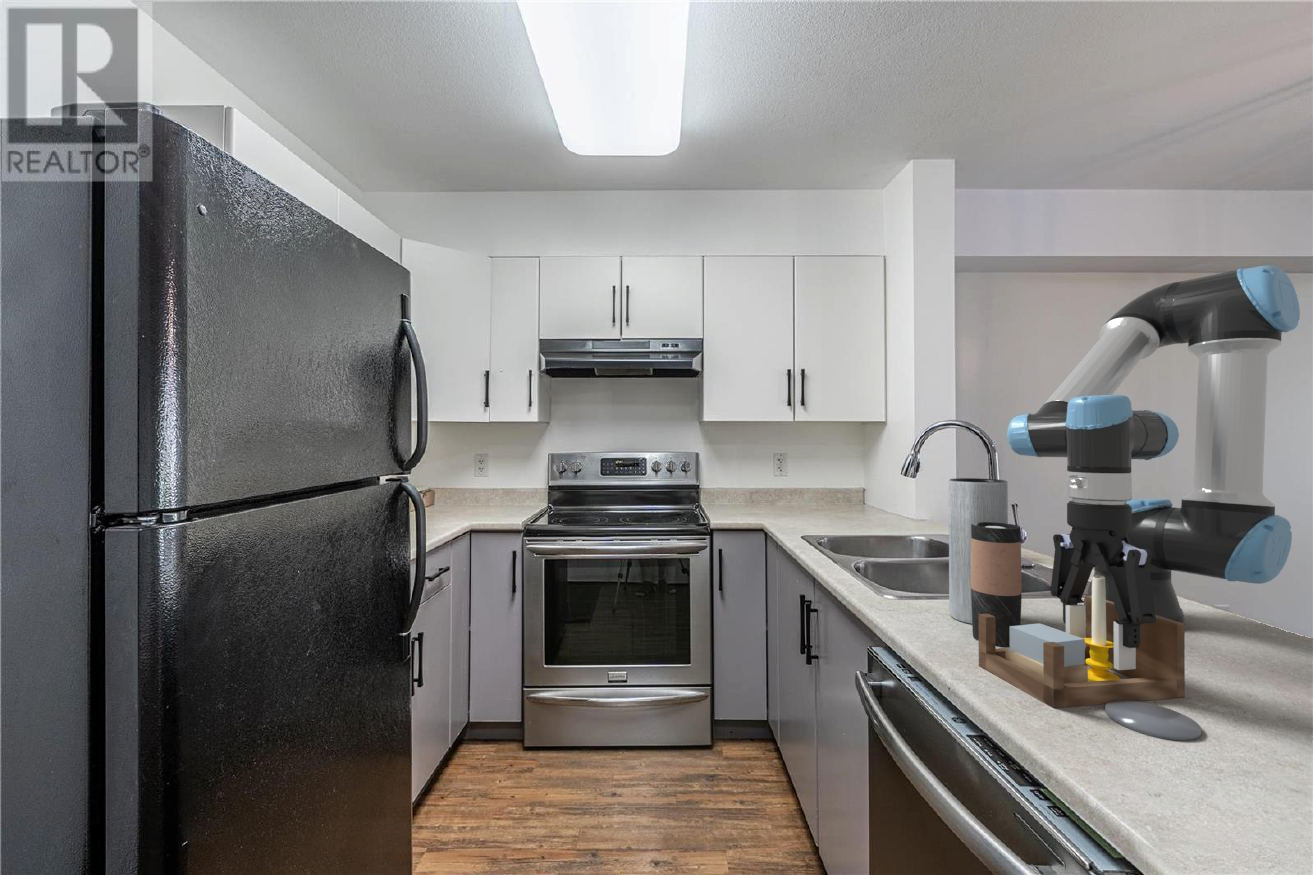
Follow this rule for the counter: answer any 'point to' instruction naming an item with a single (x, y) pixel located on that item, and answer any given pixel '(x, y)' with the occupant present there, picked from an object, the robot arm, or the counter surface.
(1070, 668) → the offcut lower
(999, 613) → the travel mug
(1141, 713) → the disc
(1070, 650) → the offcut upper
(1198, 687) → the counter surface
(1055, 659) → the frame
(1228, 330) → the robot arm
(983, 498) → the vase
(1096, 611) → the candle
